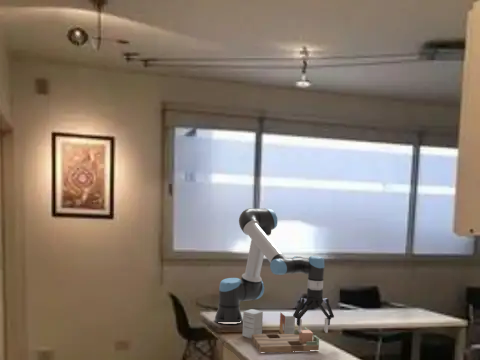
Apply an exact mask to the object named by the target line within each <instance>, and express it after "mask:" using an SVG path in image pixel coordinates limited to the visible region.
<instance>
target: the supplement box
mask: <svg viewBox="0 0 480 360" xmlns="http://www.w3.org/2000/svg"><path fill="white" fill-rule="evenodd" d="M263 315H264V313H263V311H262V310H258V309H254V308H250V309H247V310H244V311H243V314H242V337H245V338H248V339H251V340H252V335H253V334H263V319H264V318H263Z"/></svg>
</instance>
